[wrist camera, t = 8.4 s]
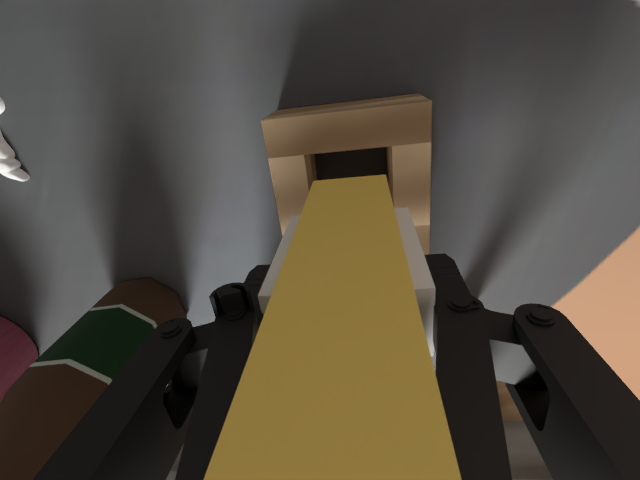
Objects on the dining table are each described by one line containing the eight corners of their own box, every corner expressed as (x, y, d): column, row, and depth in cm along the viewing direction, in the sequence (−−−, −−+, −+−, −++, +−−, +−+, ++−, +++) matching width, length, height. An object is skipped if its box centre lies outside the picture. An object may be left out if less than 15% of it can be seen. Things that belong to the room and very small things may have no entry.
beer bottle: (109, 266, 34) (-318, 626, 12) (189, 283, 34) (-97, 670, 12) (116, 328, 37) (-206, 689, 16) (188, 343, 37) (-35, 723, 16)
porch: (199, 119, 26) (-74, 224, 10) (510, 82, 24) (901, 140, 7) (251, 319, 35) (153, 562, 18) (485, 310, 32) (630, 590, 15)
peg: (313, 180, 20) (201, 485, 6) (385, 174, 19) (465, 494, 5) (321, 243, 22) (252, 598, 7) (388, 239, 21) (452, 613, 7)
